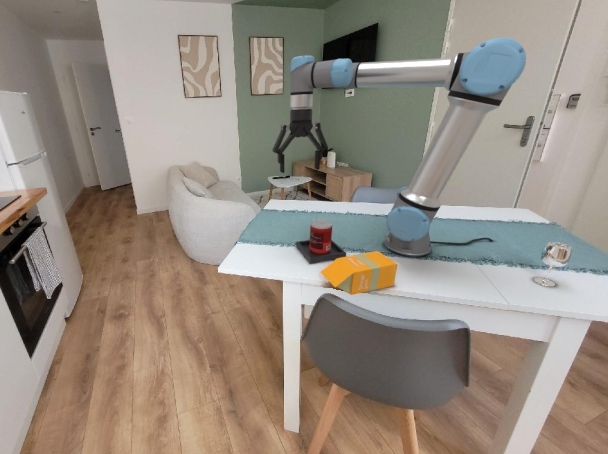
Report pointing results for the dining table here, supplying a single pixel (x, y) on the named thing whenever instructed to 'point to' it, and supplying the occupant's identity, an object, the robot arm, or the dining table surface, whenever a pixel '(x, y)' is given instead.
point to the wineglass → (554, 259)
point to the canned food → (320, 236)
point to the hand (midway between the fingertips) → (299, 170)
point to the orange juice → (361, 272)
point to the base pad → (314, 258)
